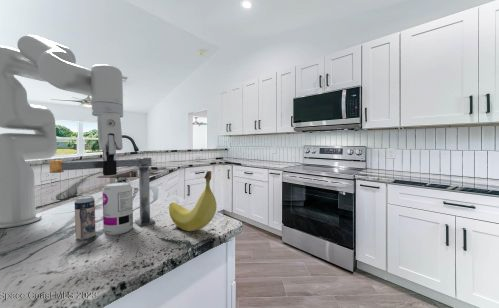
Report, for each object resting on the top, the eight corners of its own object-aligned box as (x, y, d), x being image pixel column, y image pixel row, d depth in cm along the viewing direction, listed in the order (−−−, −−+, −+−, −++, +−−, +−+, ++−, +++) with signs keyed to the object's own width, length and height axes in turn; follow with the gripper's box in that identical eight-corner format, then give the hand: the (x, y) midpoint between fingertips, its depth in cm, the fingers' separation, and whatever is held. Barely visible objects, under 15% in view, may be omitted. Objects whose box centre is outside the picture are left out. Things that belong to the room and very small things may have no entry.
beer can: (85, 241, 63) (83, 199, 63) (71, 239, 64) (70, 198, 64) (99, 234, 68) (98, 195, 67) (86, 233, 69) (85, 195, 68)
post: (135, 223, 78) (134, 167, 77) (149, 219, 82) (148, 166, 81) (140, 226, 74) (139, 168, 74) (155, 223, 78) (154, 167, 77)
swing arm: (148, 165, 81) (148, 156, 80) (153, 166, 77) (153, 157, 77) (49, 171, 62) (48, 160, 62) (50, 173, 58) (49, 161, 58)
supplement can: (102, 237, 66) (100, 187, 65) (105, 228, 73) (104, 183, 73) (133, 232, 70) (132, 185, 69) (133, 224, 77) (132, 181, 76)
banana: (163, 224, 77) (162, 167, 76) (178, 220, 81) (177, 165, 80) (205, 243, 62) (205, 172, 61) (221, 236, 67) (220, 170, 66)
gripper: (128, 108, 60) (129, 176, 60) (118, 114, 71) (120, 171, 72) (94, 105, 55) (96, 179, 56) (90, 112, 67) (92, 173, 67)
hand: (109, 174), depth 64 cm, fingers closed
